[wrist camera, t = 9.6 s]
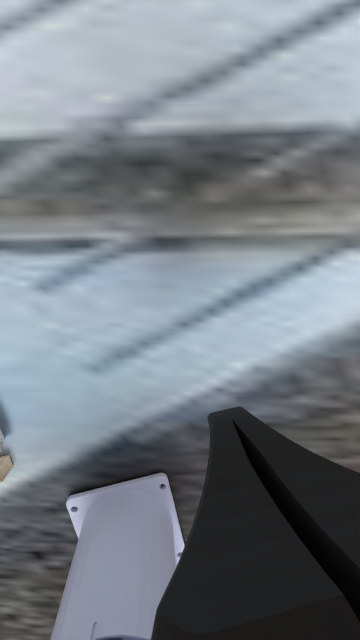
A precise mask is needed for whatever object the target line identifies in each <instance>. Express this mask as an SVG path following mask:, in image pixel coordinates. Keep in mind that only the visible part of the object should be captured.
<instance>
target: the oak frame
mask: <svg viewBox="0 0 360 640" xmlns="http://www.w3.org/2000/svg"><path fill="white" fill-rule="evenodd" d="M12 467H13V464H12V462H11V459H10V457H9V455H6V456H2V457H0V482H2V481H3V480H4V478H5V477H6V476H7V474H8V473H9V471H10V470H11V469H12Z"/></svg>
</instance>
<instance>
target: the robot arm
mask: <svg viewBox="0 0 360 640" xmlns="http://www.w3.org/2000/svg"><path fill="white" fill-rule="evenodd" d="M208 422H209V427H210V451H209V459H208V466H207V473H206V478H205V483H204V487H203V491H202V496H201V499H200V503H199V506H198V510H197V513H196V516H195V519H194V523H193V525H192V528H191V531H190V534H189V536H188V539H187V541H186V544H184V540H183V536H182V532H181V528H180V524H179V520H178V517H177V513H176V509H175V505H174V501H173V497H172V493H171V489H170V485H169V481H168V477H167V475H166V474H165V473H157V474H153V475H149V476H145V477H141V478H138V479H134V480H130V481H126V482H122V483H118V484H114V485H110V486H106V487H102V488H98V489H94V490H90V491H86V492H82V493H78V494H74V495H71V496H69V497H68V499H67V502H66V506H67V509H68V512H69V514H70V517H71V520H72V523H73V525H74V528H75V531H76V534H77V537H78V543H77V546H76V550H75V553H74V557H73V560H72V564H71V568H70V571H69V575H68V578H67V582H66V586H65V589H64V593H63V596H62V600H61V603H60V607H59V611H58V614H57V618H56V621H55V625H54V629H53V632H52V636H51V639H50V640H360V473H358V472H356V471H353V470H350V469H348V468H346V467H343V466H341V465H339V464H336V463H334V462H332V461H330V460H328V459H326V458H323V457H321V456H319V455H317V454H315V453H313V452H311V451H309V450H307V449H305V448H303V447H302V446H300V445H298V444H296V443H295V442H293V441H291V440H289V439H288V438H286V437H284V436H283V435H281V434H280V433H278V432H277V431H275V430H273V429H272V428H270V427H269V426H267V425H266V424H264V423H263V422H262V421H260V420H259V419H257V418H256V417H255V416H253V415H252V414H250V413H249V412H248V411H246V410H245V409H243V408H242V407H241V406H239V407H235V408H231V409H227V410H223V411H218V412H214V413H210V414H209V416H208ZM161 484H165V485H161ZM75 507H77V508H75Z"/></svg>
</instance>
